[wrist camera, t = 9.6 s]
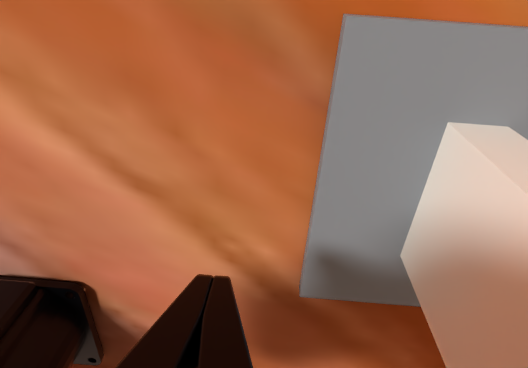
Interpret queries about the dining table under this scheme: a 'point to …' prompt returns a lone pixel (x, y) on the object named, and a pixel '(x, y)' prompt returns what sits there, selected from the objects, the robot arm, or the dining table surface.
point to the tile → (474, 247)
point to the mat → (399, 140)
